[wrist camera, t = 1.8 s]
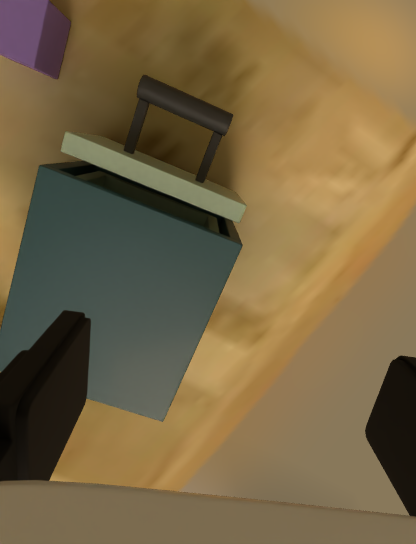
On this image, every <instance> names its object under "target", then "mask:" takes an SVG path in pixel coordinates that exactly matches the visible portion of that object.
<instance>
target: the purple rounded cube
mask: <svg viewBox="0 0 416 544" xmlns="http://www.w3.org/2000/svg"><path fill="white" fill-rule="evenodd" d="M70 25H71V22H70V21H69V20H68V19H67V18H66V17H65V16H64V15H63V14H62V13H61V12H60V11H59V10H58V9H57V8H56V7H55V6H54V5H53V4H52V3H51V2H50V1H49V0H0V55H2V56H4V57H6V58H8V59H11V60H13V61H15V62H18V63H20V64H22V65H25V66H27V67H29V68H32V69H34V70H36V71H38V72H41V73H43V74H45V75H48V76H50V77H52V78H55V79H58V76H59V72H60V67H61V63H62V59H63V55H64V50H65V46H66V42H67V38H68V33H69V29H70Z"/></svg>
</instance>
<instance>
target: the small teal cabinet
mask: <svg viewBox="0 0 416 544" xmlns="http://www.w3.org/2000/svg"><path fill="white" fill-rule="evenodd" d="M97 171H101V172H104V173H106V174H109V175H111V176H114V177H116V178H119V179H121V180H123V181H126V182H128V183H131V184H133V185H136V186H138V187H141V188H143V189H146V190H148V191H151V192H153V193H156V194H158V195H161V196H163V197H166V198H168V199H171V200H173V201H176V202H178V203H181V204H183V205H186V206H188V207H191V208H193V209H196V210H198V211H201V212H203V213H206V214H208V215H210V216H213V217H215V218H217V223H218V228H219V233H217V232H215V231H212V230H210V229H207V228H205V227H202V226H200V225H197V224H195V223H192V222H190V221H187V220H185V219H182V218H180V217H177V216H175V215H172V214H170V213H167V212H164V211H162V210H159V209H157V208H154V207H152V206H149V205H147V204H144V203H142V202H139V201H137V200H134V199H132V198H129V197H127V196H124V195H122V194H119V193H117V192H114V191H111V190H109V189H106V188H104V187H101V186H99V185H96V184H94V183H91V182H89V181H86V180H84V179H81V178H79V177H76V176H78V175H83V174H87V173H92V172H97ZM241 248H242V243H241V240H240V238H239V235H238V233H237V231H236V228H235V226H234V224H233V221H232V220H230V219H227V218H225V217H222V216H220V215H217V214H215V213H212V212H210V211H207V210H205V209H202V208H200V207H197V206H195V205H192V204H190V203H187V202H185V201H183V200H180V199H178V198H175V197H173V196H170V195H168V194H165V193H163V192H160V191H158V190H155V189H153V188H150V187H148V186H145V185H143V184H140V183H138V182H135V181H133V180H131V179H128V178H126V177H123V176H121V175H118V174H116V173H113V172H111V171H108V170H106V169H103V168H101V167H98V166H96V165H93V164H91V163H88V162H86V161H76V162H65V163H54V164H44V165H39V169H38V173H37V177H36V182H35V186H34V190H33V194H32V199H31V203H30V207H29V211H28V215H27V220H26V224H25V228H24V232H23V237H22V241H21V245H20V249H19V254H18V258H17V262H16V266H15V271H14V275H13V279H12V283H11V288H10V292H9V296H8V300H7V305H6V309H5V313H4V317H3V321H2V326H1V330H0V372H2V371H3V370H4V369H5V368H6V366H7V365H8V364H9V363H10V362H11V361H12V360H13V359H14V358H15V357H16V355H17V354H18V353H20V352H21V351H22V350H29V349H30V348H31V347H32V346H33V344H34V343H35V342H36V341H37V340H38V339H39V338H40V336H41V335H42V334H43V333H44V332H45V331H46V330H47V328H48V327H49V326H50V325H51V324H52V323H53V322H54V320H55V319H56V318H57V317H58V316H59V315H60V314H61V313H62V311H64V310H69V311H76V312H83V313H84V314H85V318H90V319H91V333H90V352H89V371H88V390H87V399H90V400H93V401H97V402H100V403H103V404H107V405H110V406H113V407H116V408H120V409H123V410H126V411H129V412H133V413H136V414H139V415H142V416H146V417H149V418H152V419H155V420H159V421H162V422H163V421H164V419H165V416H166V414H167V412H168V410H169V407H170V405H171V403H172V401H173V399H174V396H175V394H176V392H177V390H178V388H179V385H180V383H181V381H182V379H183V377H184V374H185V372H186V370H187V368H188V365H189V363H190V361H191V359H192V357H193V354H194V352H195V350H196V348H197V346H198V343H199V341H200V339H201V337H202V334H203V332H204V330H205V328H206V326H207V323H208V321H209V319H210V317H211V315H212V312H213V310H214V308H215V306H216V303H217V301H218V299H219V297H220V295H221V292H222V290H223V288H224V286H225V284H226V281H227V279H228V277H229V275H230V272H231V270H232V268H233V266H234V264H235V261H236V259H237V257H238V255H239V253H240V250H241Z"/></svg>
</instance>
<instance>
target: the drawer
mask: <svg viewBox="0 0 416 544" xmlns="http://www.w3.org/2000/svg"><path fill="white" fill-rule="evenodd" d="M137 98H139V102H138V105H137V108H136V111H135V115H134V118H133V121H132V124H131V128H130V131H129V134H128V137H127V141H126V144H125V146H124V145H122V144H120V143H117V142H115V141H112V140H110V139H108V138H105V137H103V136H99V135H92V134H85V133H77V132H70V131H65V135H64V139H63V143H62V147H61V152H64V153H66V154H69V155H71V156H74V157H76V158H79V159H81V160H83V161H86V162H88V163H91V164H93V165H96V166H98V167H101V168H103V169H106V170H108V171H111V172H113V173H116V174H118V175H121V176H123V177H126V178H128V179H131V180H133V181H135V182H138V183H140V184H143V185H145V186H148V187H150V188H153V189H155V190H158V191H160V192H163V193H165V194H168V195H170V196H173V197H175V198H178V199H180V200H183V201H185V202H187V203H190V204H192V205H195V206H197V207H200V208H202V209H205V210H207V211H210V212H212V213H215V214H217V215H220V216H222V217H225V218H227V219H230V220H232V221H235V222H237V223H240V220H241V218H242V216H243V214H244V211H245V209H246V207H247V205H246V204H245V203H244V202H243V200H242V199H241V198H240V197H239V195H238V194H237V193H236V192H235V191H232V190H230V189H228V188H225V187H223V186H220V185H218V184H216V183H213V182H211V181H208V180H206V179H205V178H206V176H207V173H208V171H209V168H210V166H211V163H212V160H213V158H214V155H215V153H216V150H217V148H218V145H219V142H220V140H221V137H222V135H223V136H225V135H226V133H227V131H228V129H229V126H230V124H231V121H232V118H233V114H231V113H229V112H227V111H225V110H223V109H220V108H218V107H216V106H214V105H211V104H209V103H207V102H205V101H203V100H200V99H198V98H196V97H194V96H191V95H189V94H187V93H185V92H183V91H180V90H178V89H176V88H174V87H171V86H169V85H167V84H165V83H163V82H160V81H158V80H156V79H154V78H151V77H149V76H147V75H143V76H142V78H141V80H140V82H139V86H138V90H137ZM149 103H150V104H152V105H155V106H157V107H159V108H162V109H164V110H166V111H168V112H171V113H173V114H175V115H178V116H180V117H182V118H184V119H187V120H189V121H191V122H193V123H196V124H198V125H200V126H203V127H205V128H207V129H209V130H212V131H214V132H213V134H212V137H211V140H210V142H209V145H208V148H207V150H206V153H205V155H204V158H203V161H202V163H201V166H200V169H199V171H198V174H197V176H196V175H194V174H192V173H189V172H187V171H184V170H182V169H180V168H177V167H175V166H172V165H170V164H168V163H165V162H163V161H160V160H158V159H156V158H153V157H151V156H148V155H146V154H144V153H141V152H139V151H136V150H135V148H136V145H137V142H138V139H139V136H140V133H141V129H142V126H143V123H144V120H145V117H146V114H147V111H148V107H149ZM76 177H79V178H81V179H84V180H86V181H89V182H91V183H94V184H96V185H99V186H101V187H104V188H106V189H109V190H111V191H114V192H117V193H119V194H122V195H124V196H127V197H129V198H132V199H134V200H137V201H139V202H142V203H144V204H147V205H149V206H152V207H154V208H157V209H159V210H162V211H164V212H167V213H170V214H172V215H175V216H177V217H180V218H182V219H185V220H187V221H190V222H192V223H195V224H197V225H200V226H202V227H205V228H207V229H210V230H212V231H215V232H217V233H219V228H218V223H217V218H215V217H213V216H210V215H208V214H206V213H203V212H201V211H198V210H196V209H193V208H191V207H188V206H186V205H183V204H181V203H178V202H176V201H173V200H171V199H168V198H166V197H163V196H161V195H158V194H156V193H153V192H151V191H148V190H146V189H143V188H141V187H138V186H136V185H133V184H131V183H128V182H126V181H123V180H121V179H119V178H116V177H114V176H111V175H109V174H106V173H104V172H101V171H97V172H92V173H87V174H83V175H78V176H76Z"/></svg>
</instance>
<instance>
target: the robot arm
mask: <svg viewBox="0 0 416 544" xmlns="http://www.w3.org/2000/svg"><path fill="white" fill-rule="evenodd" d="M90 333H91V319H90V318H85V314H84V313H83V312H76V311H69V310H64V311H62V313H61V314H60V315H59V316H58V317H57V318H56V319H55V320H54V322H53V323H52V324H51V325H50V326H49V327H48V328H47V330H46V331H45V332H44V333H43V334H42V335H41V336H40V338H39V339H38V340H37V341H36V342H35V343H34V344H33V346H32V347H31V348H30V349H29V350H22V351H21V352H20V353H18V354H17V355H16V357H15V358H14V359H13V360H12V361H11V362H10V363H9V364H8V365H7V366H6V368H5V369H4V370H3V371H2V372H1V373H0V544H416V358H415V357H408V356H399V357H398V358H396V359H395V360H393V361H392V362H391V363H390V366H389V368H388V371H387V374H386V376H385V379H384V381H383V384H382V386H381V389H380V391H379V394H378V397H377V399H376V402H375V404H374V407H373V410H372V412H371V415H370V417H369V420H368V423H367V425H366V430H365V432H366V438H367V440H368V442H369V444H370V446H371V447H372V449H373V451H374V453H375V454H376V456H377V458H378V460H379V461H380V463H381V465H382V467H383V469H384V470H385V472H386V474H387V476H388V478H389V479H390V481H391V483H392V485H393V486H394V488H395V490H396V492H397V494H398V495H399V497H400V499H401V501H402V502H403V504H404V506H405V508H406V510H407V511H408V513H409V515H410V516H406V515H397V514H388V513H379V512H370V511H361V510H352V509H342V508H332V507H323V506H314V505H305V504H295V503H286V502H275V501H266V500H257V499H246V498H236V497H227V496H217V495H206V494H196V493H187V492H177V491H167V490H157V489H147V488H137V487H126V486H116V485H105V484H93V483H76V482H60V481H49V479H50V477H51V475H52V473H53V471H54V469H55V467H56V465H57V462H58V460H59V458H60V456H61V454H62V452H63V450H64V448H65V445H66V443H67V441H68V439H69V437H70V435H71V433H72V431H73V428H74V426H75V424H76V422H77V420H78V418H79V416H80V414H81V411H82V409H83V407H84V405H85V402H86V398H87V390H88V371H89V352H90Z"/></svg>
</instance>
